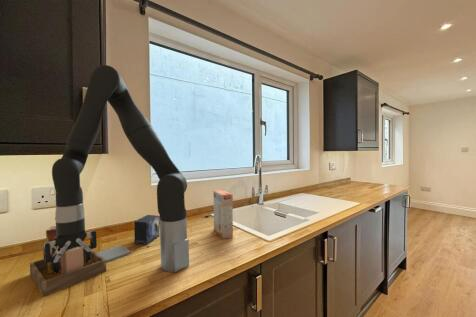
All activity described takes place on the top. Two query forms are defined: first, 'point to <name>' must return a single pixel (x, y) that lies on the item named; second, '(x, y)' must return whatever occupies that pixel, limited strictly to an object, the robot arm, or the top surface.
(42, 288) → the crate
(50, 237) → the candy box
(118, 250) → the pad
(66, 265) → the labelled block
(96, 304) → the top surface
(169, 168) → the robot arm
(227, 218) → the cracker box
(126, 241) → the top surface
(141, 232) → the small box
